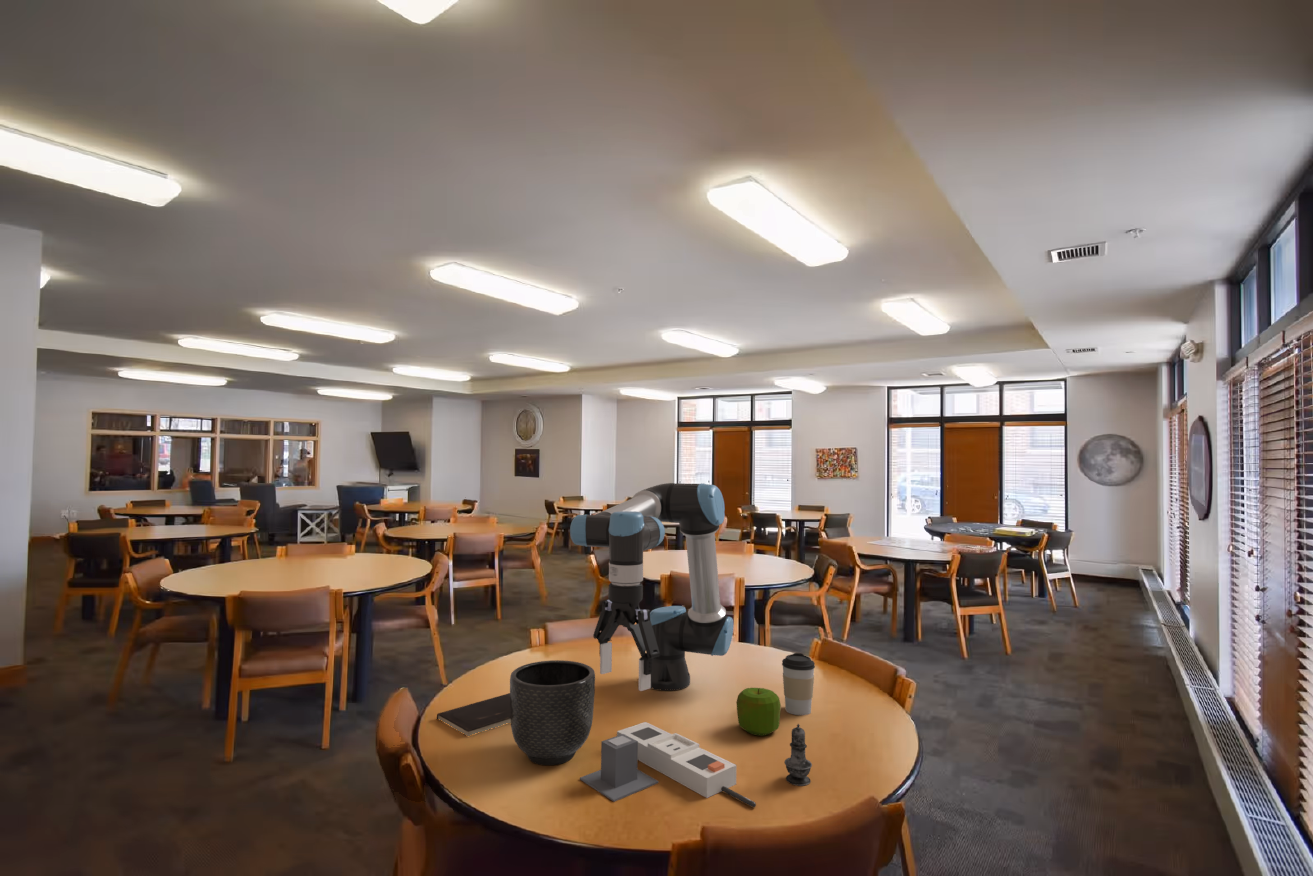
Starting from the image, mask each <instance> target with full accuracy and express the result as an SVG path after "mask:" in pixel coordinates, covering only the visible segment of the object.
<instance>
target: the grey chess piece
mask: <svg viewBox="0 0 1313 876" xmlns="http://www.w3.org/2000/svg"><path fill="white" fill-rule="evenodd" d="M789 746H790V751H791V752H790V757H787V758H786V759H785V760H784V765H785V768H786V771H787V773H788V774H787V775H786V777H785V780H786V782H787V783H789V785H790V784H791V785H794V786H798V787H805V786H808V785H810V784H811V782H812V781H811V779H810V777H809V776H808V775H809V774H810V772H811V768H812V767H813V764H812V761H810V760H808V759H807V758H806V756H807V755H806V748H807V747H808V746H807V744H806V732H805V730H804V729H803V728H801V725H800V723H797V724H796V727H793V728H792V729H791V742H790V743H789Z"/></svg>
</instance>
